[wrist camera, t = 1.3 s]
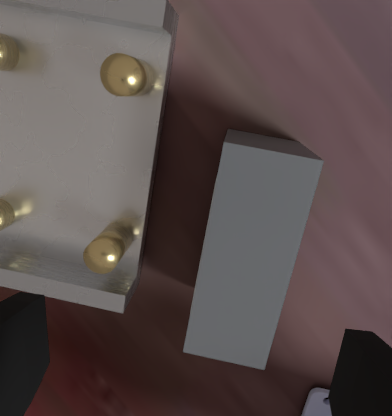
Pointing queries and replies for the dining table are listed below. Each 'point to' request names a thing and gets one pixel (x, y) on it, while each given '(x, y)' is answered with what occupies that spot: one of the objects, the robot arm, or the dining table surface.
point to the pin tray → (80, 143)
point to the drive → (250, 246)
